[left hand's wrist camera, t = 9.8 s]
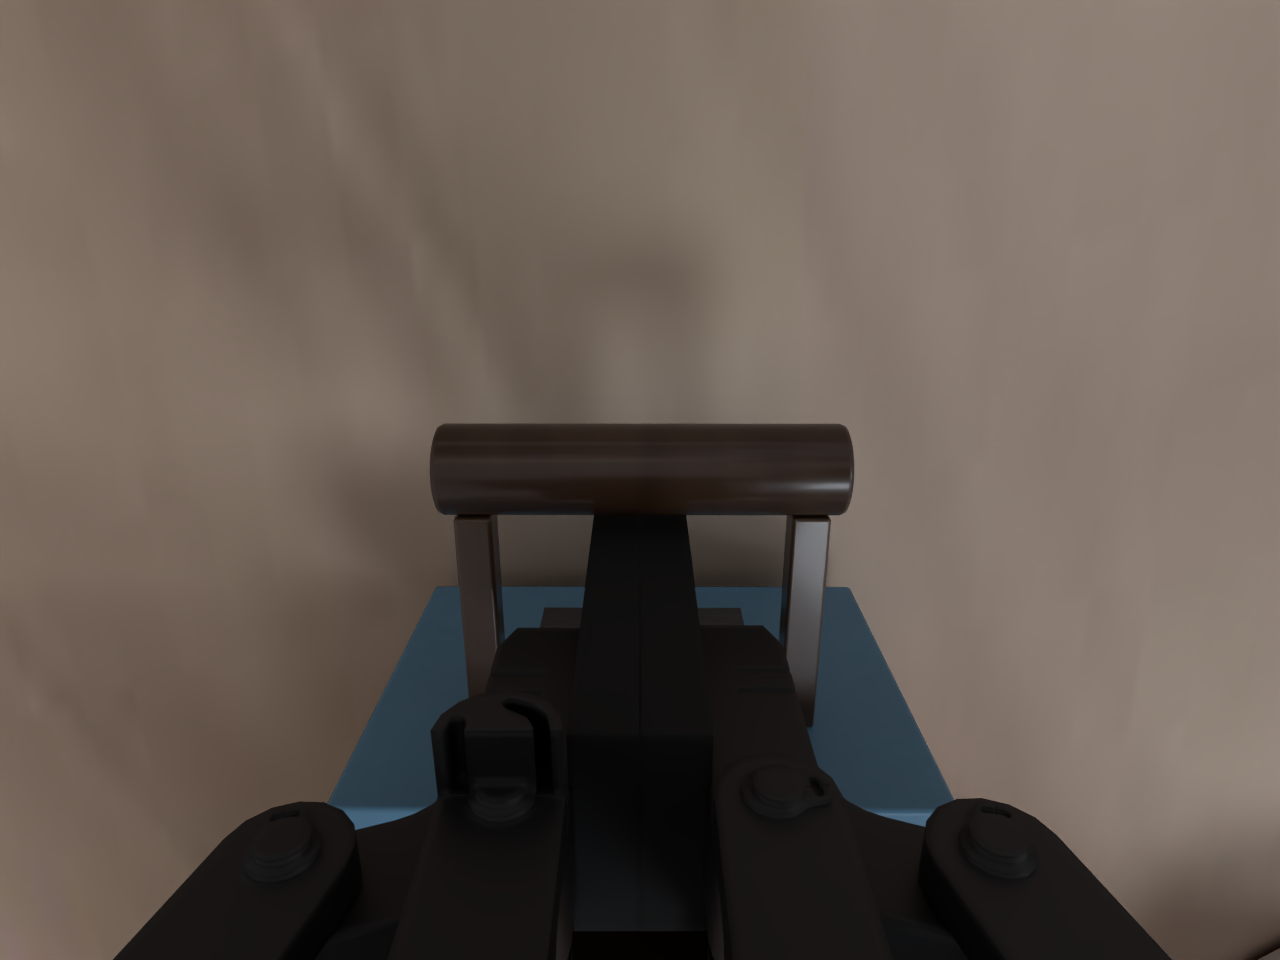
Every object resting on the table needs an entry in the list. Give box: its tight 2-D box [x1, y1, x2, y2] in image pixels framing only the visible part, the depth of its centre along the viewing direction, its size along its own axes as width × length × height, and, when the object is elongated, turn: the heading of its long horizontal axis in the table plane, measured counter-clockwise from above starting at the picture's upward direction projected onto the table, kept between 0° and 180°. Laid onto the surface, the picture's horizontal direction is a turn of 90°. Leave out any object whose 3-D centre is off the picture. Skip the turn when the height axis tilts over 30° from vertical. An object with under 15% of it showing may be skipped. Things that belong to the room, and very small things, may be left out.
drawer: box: [327, 424, 954, 960], centre depth 17 cm, size 19×10×7 cm, turn 0°
